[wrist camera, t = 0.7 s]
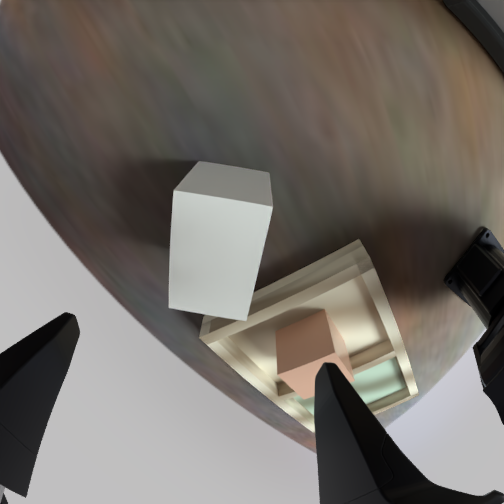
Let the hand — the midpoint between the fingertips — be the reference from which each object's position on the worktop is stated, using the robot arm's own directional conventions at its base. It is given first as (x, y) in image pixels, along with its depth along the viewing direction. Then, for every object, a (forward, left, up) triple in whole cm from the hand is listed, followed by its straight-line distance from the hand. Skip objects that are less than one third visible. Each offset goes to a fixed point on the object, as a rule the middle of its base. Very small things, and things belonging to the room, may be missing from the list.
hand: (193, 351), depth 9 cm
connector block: (0, 0, -12) cm, 12 cm away
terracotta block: (-11, +6, -11) cm, 17 cm away
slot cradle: (-16, +8, -12) cm, 22 cm away
